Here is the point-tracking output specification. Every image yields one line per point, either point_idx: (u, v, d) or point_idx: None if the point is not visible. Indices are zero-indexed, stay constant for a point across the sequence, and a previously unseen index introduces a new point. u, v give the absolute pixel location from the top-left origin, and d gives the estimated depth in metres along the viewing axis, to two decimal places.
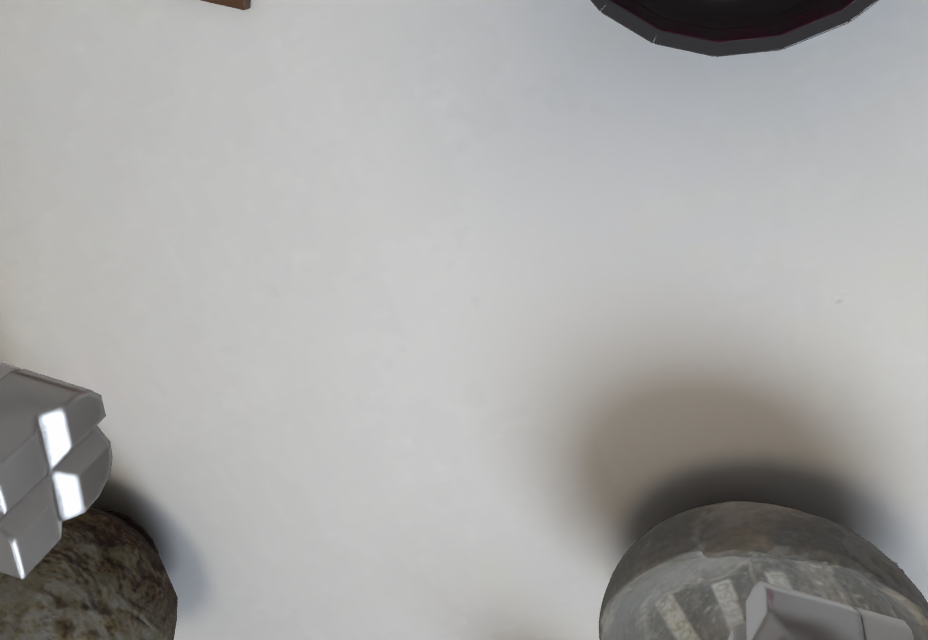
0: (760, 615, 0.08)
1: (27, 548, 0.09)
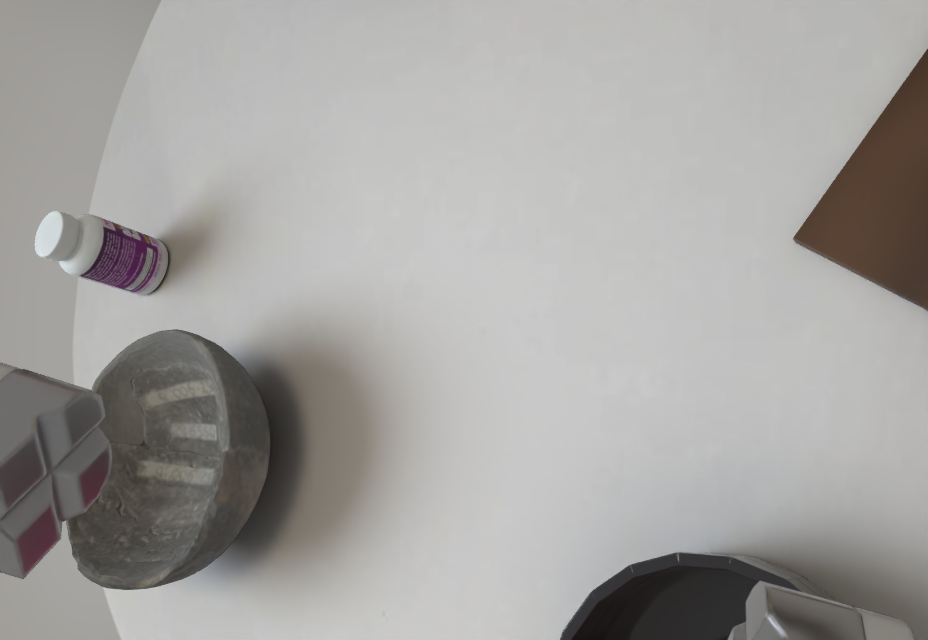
0: (760, 615, 0.08)
1: (27, 548, 0.09)
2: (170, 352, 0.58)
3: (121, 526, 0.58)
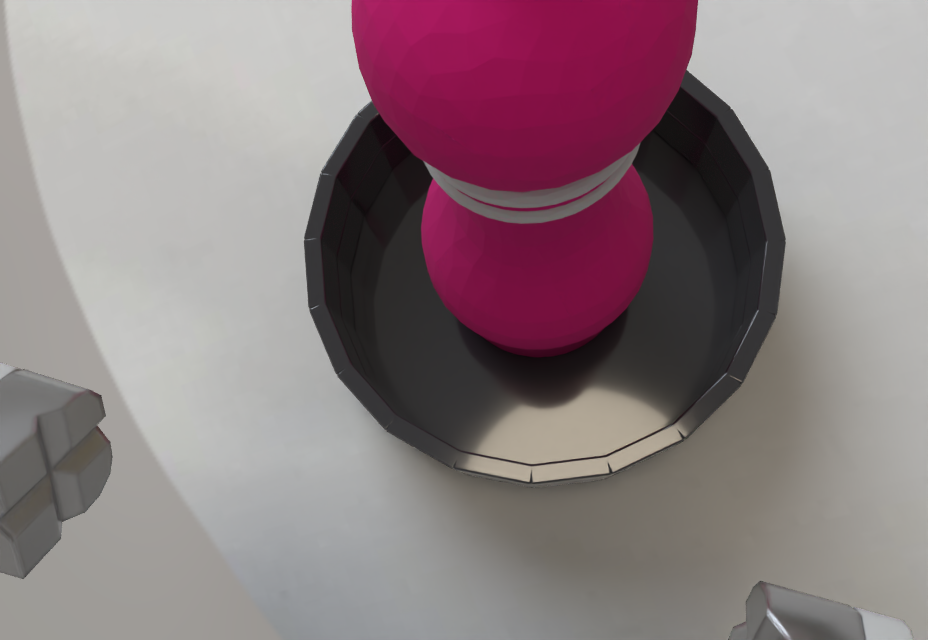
0: (760, 615, 0.08)
1: (27, 548, 0.09)
2: None
3: None
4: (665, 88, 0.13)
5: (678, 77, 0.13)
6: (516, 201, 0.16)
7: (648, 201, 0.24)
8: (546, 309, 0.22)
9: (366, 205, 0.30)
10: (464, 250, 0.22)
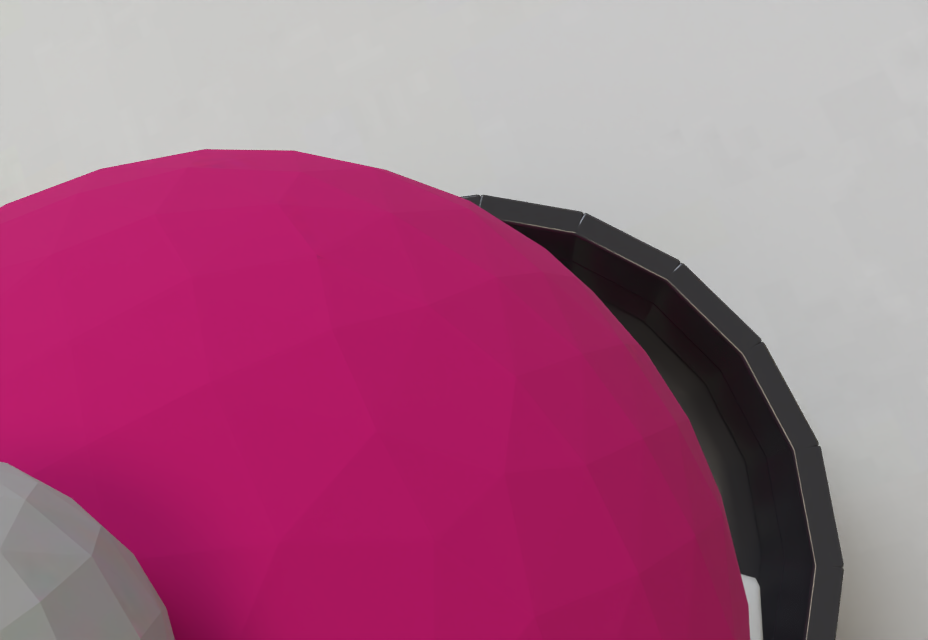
0: None
1: None
2: None
3: None
4: None
5: None
6: None
7: None
8: None
9: None
10: None
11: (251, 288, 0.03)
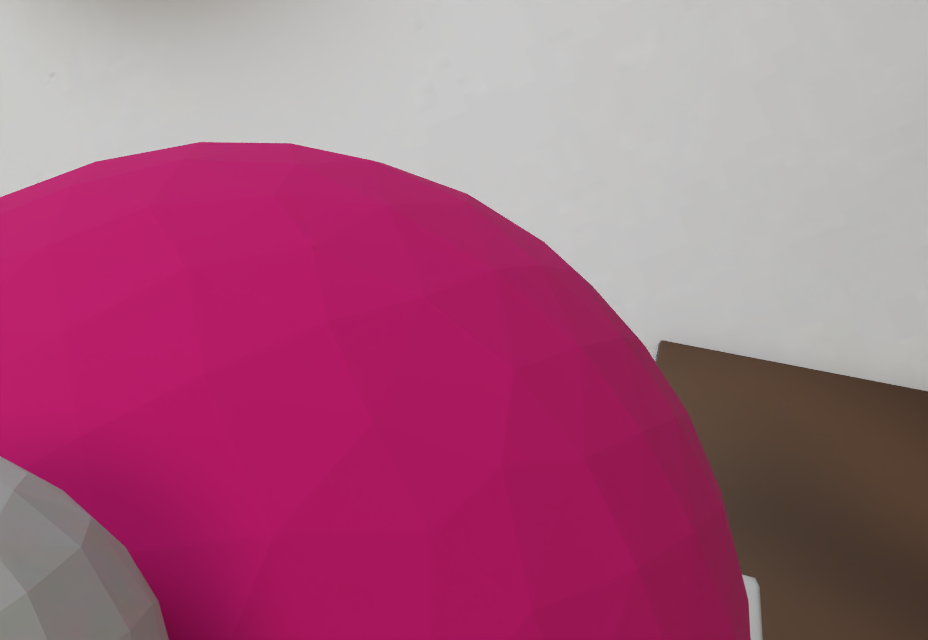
0: None
1: None
2: None
3: None
4: None
5: None
6: None
7: None
8: None
9: None
10: None
11: (244, 281, 0.03)
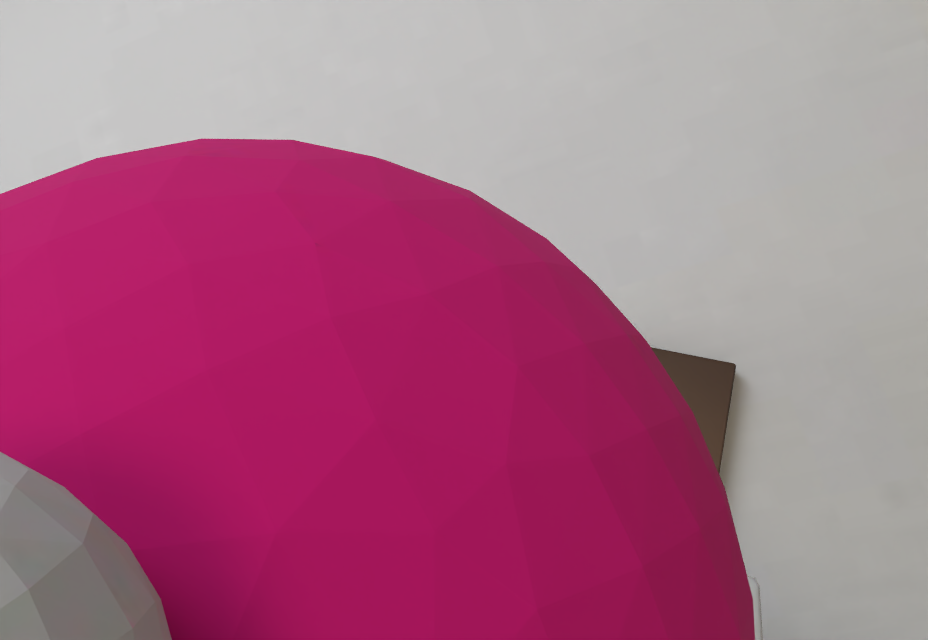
0: None
1: None
2: None
3: None
4: None
5: None
6: None
7: None
8: None
9: None
10: None
11: (247, 276, 0.03)
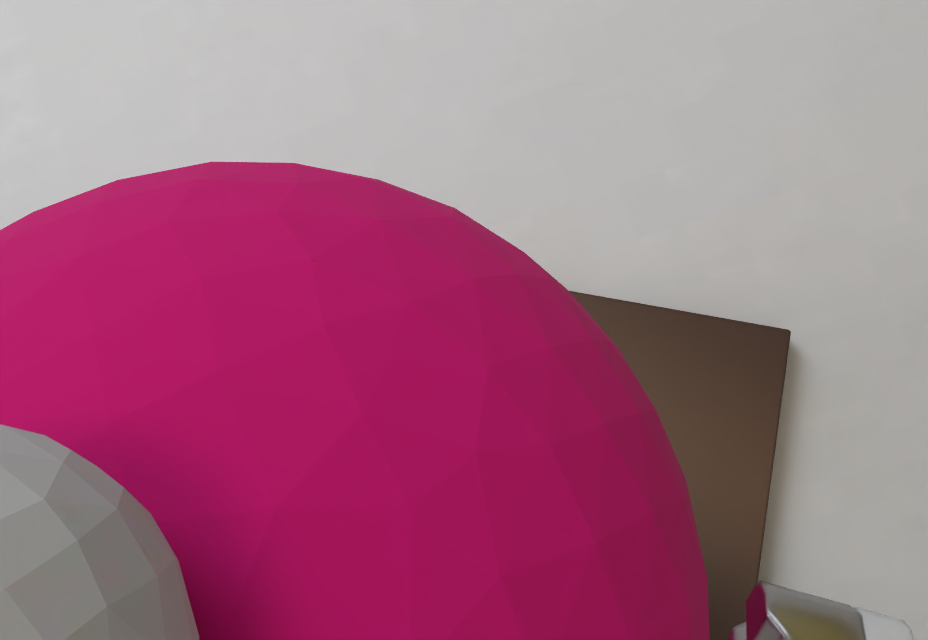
0: (761, 615, 0.08)
1: None
2: None
3: None
4: None
5: None
6: None
7: None
8: None
9: None
10: None
11: (254, 288, 0.04)
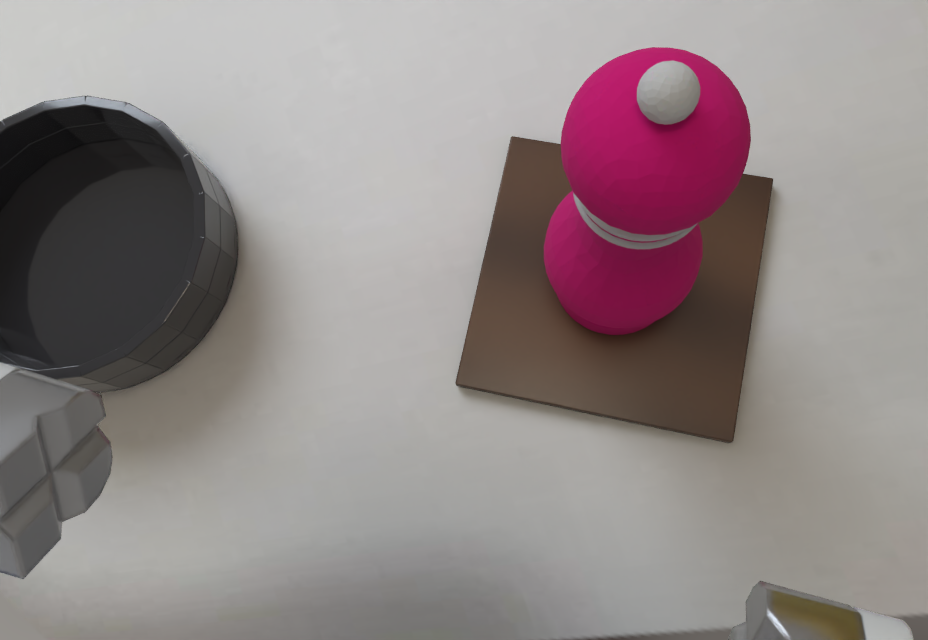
0: (760, 615, 0.08)
1: (27, 548, 0.09)
2: None
3: None
4: (732, 186, 0.25)
5: (739, 180, 0.25)
6: (638, 237, 0.28)
7: (700, 231, 0.36)
8: (634, 300, 0.34)
9: None
10: (583, 261, 0.34)
11: (681, 61, 0.24)
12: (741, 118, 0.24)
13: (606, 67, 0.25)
